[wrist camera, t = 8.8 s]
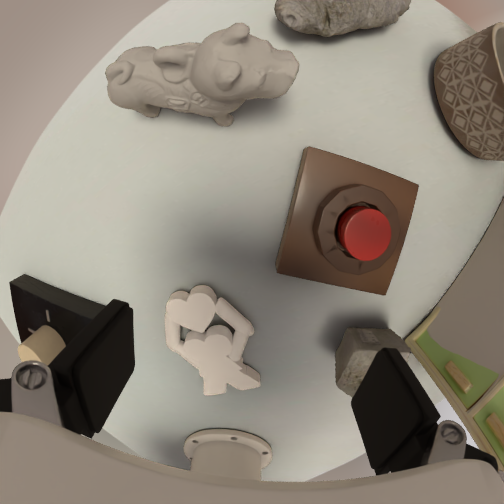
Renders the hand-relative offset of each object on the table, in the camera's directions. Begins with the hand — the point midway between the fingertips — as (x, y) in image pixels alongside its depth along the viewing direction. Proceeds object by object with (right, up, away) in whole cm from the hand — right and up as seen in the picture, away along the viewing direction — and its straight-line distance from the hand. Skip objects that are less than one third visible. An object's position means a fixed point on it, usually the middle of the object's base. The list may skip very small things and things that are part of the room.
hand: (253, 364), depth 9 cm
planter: (+23, +20, +9) cm, 32 cm away
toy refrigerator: (+21, -5, +16) cm, 27 cm away
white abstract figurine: (-4, -5, +17) cm, 18 cm away
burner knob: (-23, -6, +14) cm, 27 cm away
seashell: (+8, +26, +8) cm, 29 cm away
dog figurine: (-4, +17, +11) cm, 21 cm away
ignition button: (+8, +6, +10) cm, 14 cm away
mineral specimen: (+10, -5, +16) cm, 20 cm away
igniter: (+8, +7, +13) cm, 17 cm away
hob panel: (-23, -5, +17) cm, 29 cm away
